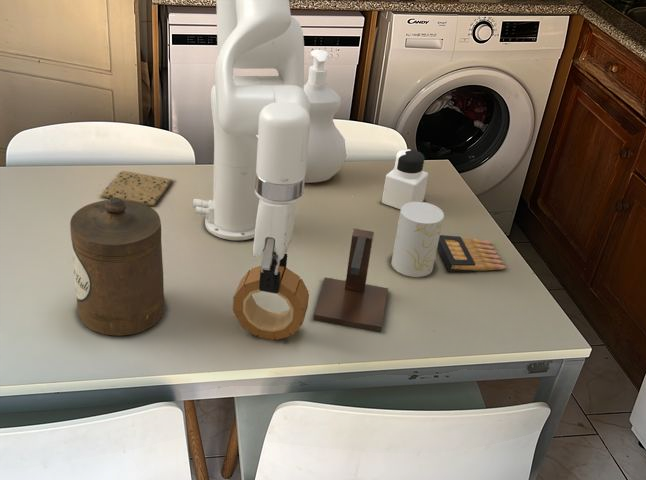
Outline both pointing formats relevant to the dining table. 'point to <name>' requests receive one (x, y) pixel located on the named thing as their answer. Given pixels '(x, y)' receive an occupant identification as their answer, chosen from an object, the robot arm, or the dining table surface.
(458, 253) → the ammunition clip
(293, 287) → the segmented brown cylinder
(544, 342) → the dining table surface
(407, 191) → the medicine bottle
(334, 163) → the soap bottle
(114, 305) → the wooden container
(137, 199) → the tan flat square slab
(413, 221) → the cup
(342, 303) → the hook stand
